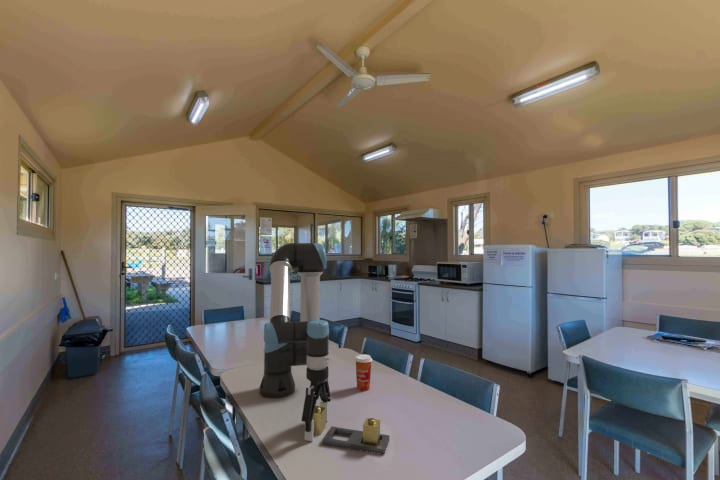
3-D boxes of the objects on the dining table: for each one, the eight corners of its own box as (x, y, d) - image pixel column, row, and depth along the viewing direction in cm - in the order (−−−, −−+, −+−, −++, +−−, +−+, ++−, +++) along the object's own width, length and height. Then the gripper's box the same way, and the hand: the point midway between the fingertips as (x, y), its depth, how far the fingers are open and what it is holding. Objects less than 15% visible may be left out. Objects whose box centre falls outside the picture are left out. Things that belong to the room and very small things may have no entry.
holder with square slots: (322, 444, 107) (323, 419, 108) (331, 431, 115) (331, 407, 115) (384, 454, 102) (384, 428, 102) (389, 440, 110) (389, 416, 110)
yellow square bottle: (308, 433, 114) (308, 409, 114) (313, 426, 118) (313, 403, 118) (320, 435, 113) (320, 411, 113) (325, 428, 117) (325, 405, 117)
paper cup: (351, 389, 149) (351, 357, 149) (359, 383, 156) (360, 353, 156) (367, 393, 145) (367, 360, 146) (375, 387, 152) (375, 355, 152)
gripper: (313, 381, 103) (312, 452, 103) (339, 356, 127) (338, 414, 126) (291, 378, 105) (290, 448, 105) (320, 354, 129) (320, 411, 128)
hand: (316, 430), depth 115 cm, fingers open, 12 cm apart
